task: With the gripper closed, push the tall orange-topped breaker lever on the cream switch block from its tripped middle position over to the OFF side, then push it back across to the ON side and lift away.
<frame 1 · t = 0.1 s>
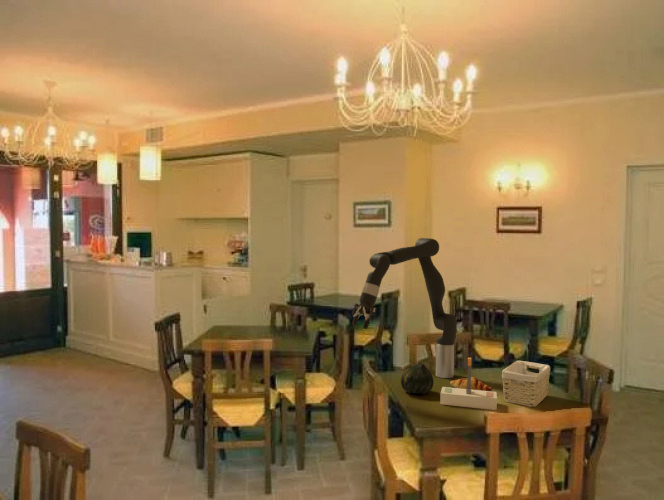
hand: (359, 327, 255), 31 cm above the table, tool tilted 20°, fingers open, 8 cm apart
switch block: (468, 403, 244), on the table
breaker lever: (469, 374, 243), point 13 cm above the table, hinge at 0.0°
storage basket: (525, 399, 252), on the table
squash: (417, 392, 259), on the table
croissant: (470, 390, 264), on the table
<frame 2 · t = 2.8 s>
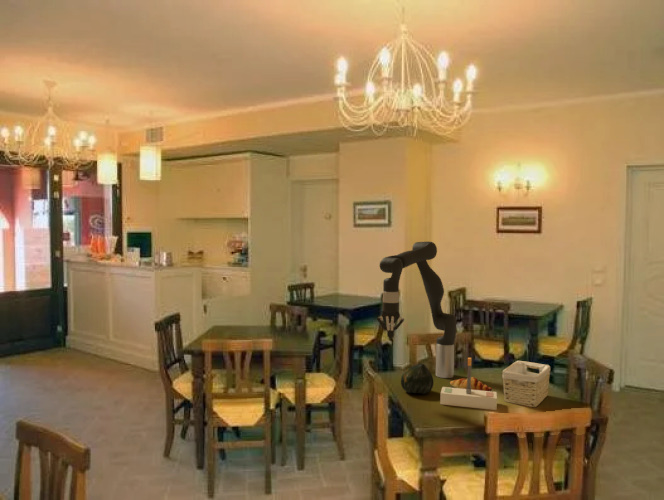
hand: (390, 338, 252), 27 cm above the table, tool pointing down, fingers closed
nothing on the table moved.
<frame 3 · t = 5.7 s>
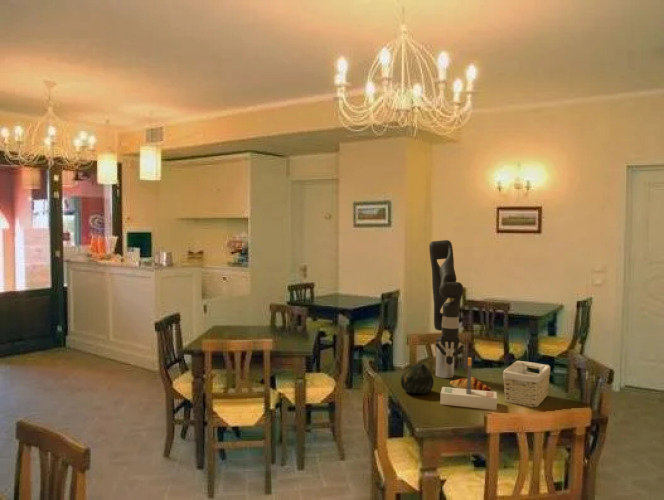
hand: (449, 364, 246), 17 cm above the table, tool pointing down, fingers closed
nothing on the table moved.
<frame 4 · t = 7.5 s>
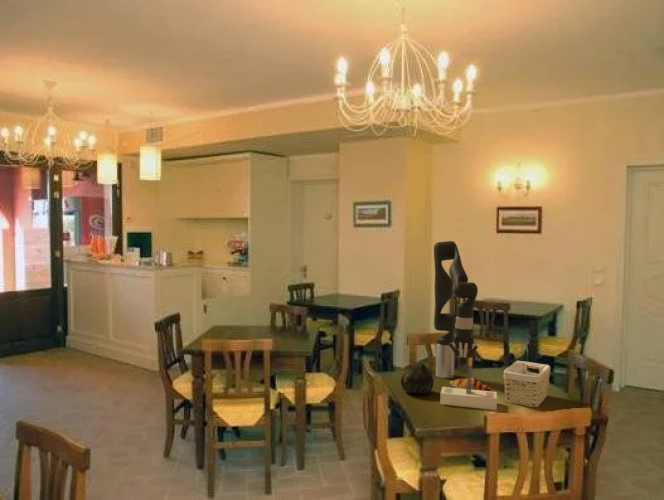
hand: (462, 365, 244), 17 cm above the table, tool pointing down, fingers closed
breaker lever: (469, 374, 243), point 13 cm above the table, hinge at 1.5°, touching gripper
everything else where it was.
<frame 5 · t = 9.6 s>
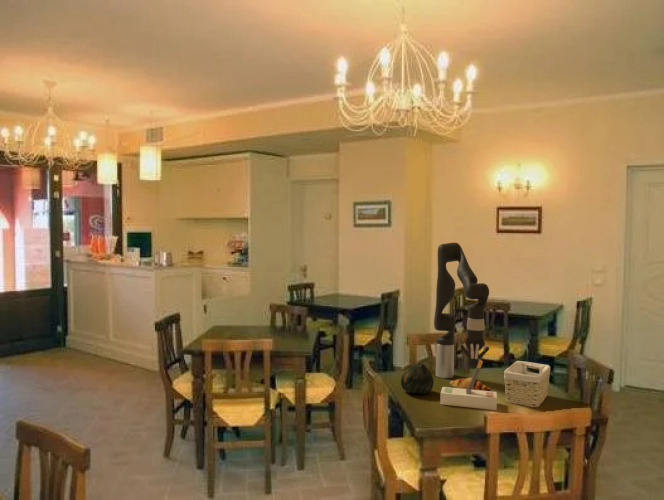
hand: (474, 366, 243), 17 cm above the table, tool pointing down, fingers closed
breaker lever: (475, 375, 243), point 13 cm above the table, hinge at 19.3°, touching gripper
everything else where it was.
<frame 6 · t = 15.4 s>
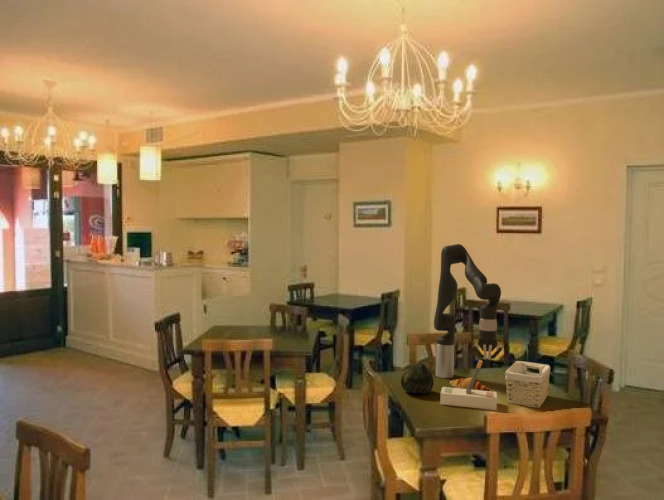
hand: (487, 367, 241), 17 cm above the table, tool pointing down, fingers closed
breaker lever: (475, 375, 243), point 13 cm above the table, hinge at 18.9°, touching gripper
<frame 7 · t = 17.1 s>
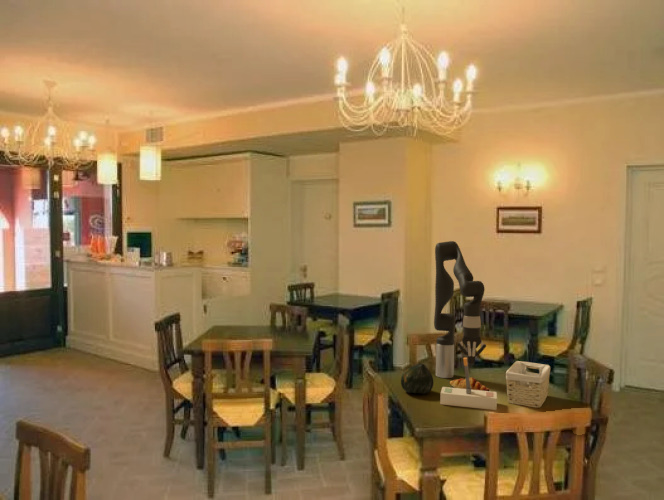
hand: (471, 364, 243), 18 cm above the table, tool pointing down, fingers closed
breaker lever: (466, 374, 244), point 13 cm above the table, hinge at -7.3°, touching gripper
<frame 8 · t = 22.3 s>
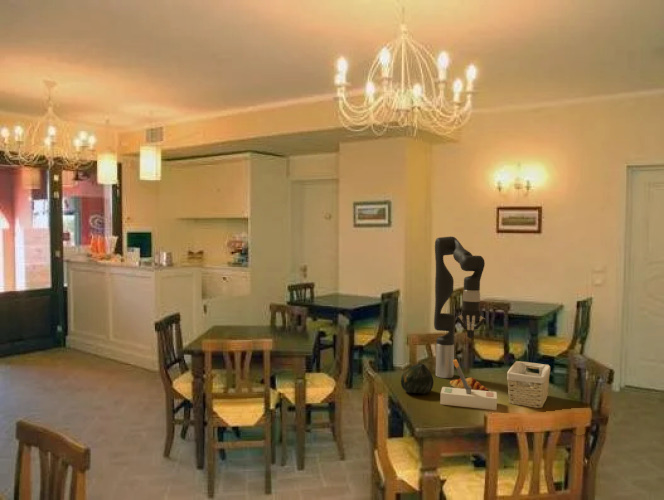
hand: (470, 338, 246), 29 cm above the table, tool pointing down, fingers closed
breaker lever: (461, 375, 244), point 12 cm above the table, hinge at -25.6°
at the end: breaker lever at -26° (first picture: +0°); squash moved 0.3 cm from its start; storage basket moved 1.6 cm from its start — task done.
